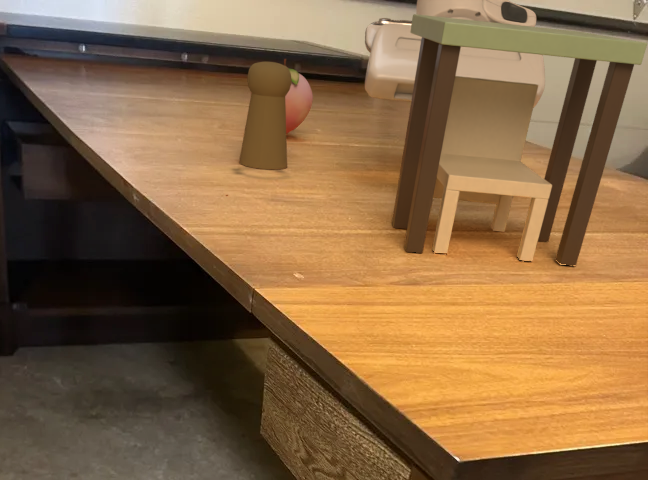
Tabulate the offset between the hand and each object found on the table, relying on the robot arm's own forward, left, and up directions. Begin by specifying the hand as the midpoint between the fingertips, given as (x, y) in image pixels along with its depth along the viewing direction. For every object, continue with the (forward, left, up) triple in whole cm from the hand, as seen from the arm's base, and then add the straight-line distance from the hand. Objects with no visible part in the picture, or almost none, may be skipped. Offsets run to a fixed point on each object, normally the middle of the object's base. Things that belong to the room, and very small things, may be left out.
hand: (453, 132), depth 92 cm
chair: (+1, +21, -7) cm, 22 cm away
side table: (+1, +20, -7) cm, 21 cm away
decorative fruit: (+19, -30, -7) cm, 36 cm away
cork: (+21, -8, -7) cm, 23 cm away
